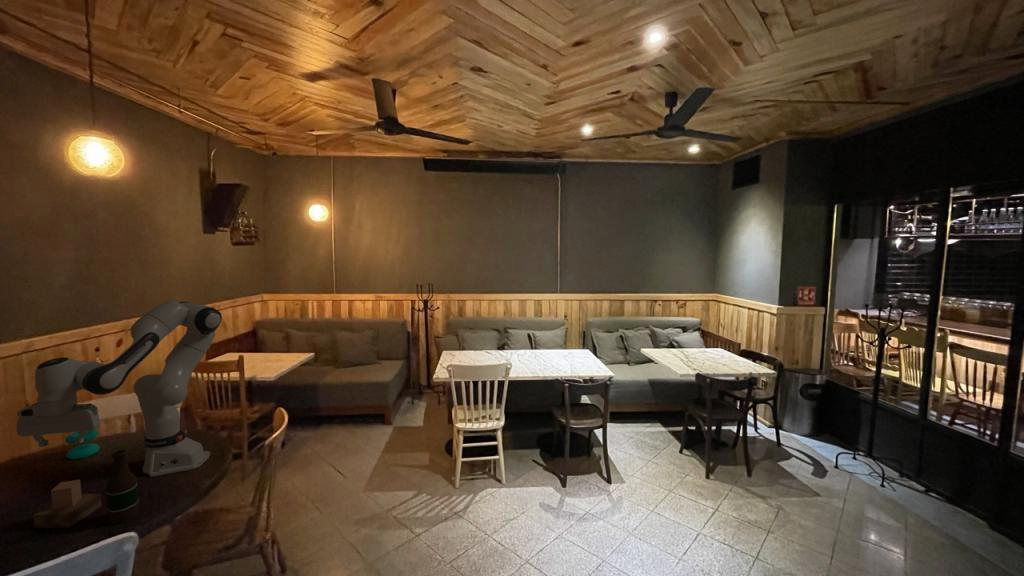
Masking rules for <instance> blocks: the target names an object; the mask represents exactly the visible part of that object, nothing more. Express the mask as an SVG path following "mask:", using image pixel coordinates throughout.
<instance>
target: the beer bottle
mask: <svg viewBox="0 0 1024 576" xmlns="http://www.w3.org/2000/svg"><path fill="white" fill-rule="evenodd" d="M127 454H128V451H127V450H126V449H119V450H117V451H114V452H113V453H112V456H111V457H112V458H113V462H112V463H113V464H112V465H113V466H112V468H113V470H112V476H111V478H110V479H109V481H107V484H106V488H105V490H106V491H105V495H106V508H107V519H108V522H109V523H111V524H114V525H117V524H123V523H126V522H128V521H130V520H131V519H134V518H136V516H137V515H138V513H139V511H140V500H139V484H138V477H137V476H136V474H135V473H133V472H131V470H130V468H129V461H128V456H127Z"/></svg>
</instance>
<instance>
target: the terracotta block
mask: <svg viewBox="0 0 1024 576" xmlns="http://www.w3.org/2000/svg"><path fill="white" fill-rule="evenodd" d="M82 494H83V493H82V485H81V479H74V480H66V481H60V483H58V484H57V485H56V486H54V487H53V488H52V489H51V490H50V495H51V504H52V506H53V510H56V509H63V508H69V507H73V506H74V505H75V504H76V503H77V502H78V501H79V500H80V499H81V498H82Z"/></svg>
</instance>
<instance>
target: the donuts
mask: <svg viewBox="0 0 1024 576" xmlns="http://www.w3.org/2000/svg"><path fill="white" fill-rule="evenodd" d="M79 435H80V434H78V432H71V433H70V434H68V435H67V436H65V438H64V441H65V442H66V444H67V445H68V444H69V445H77V446H74V447H73V448H70V450H68V451H67V453H66V457H67V458H68V459H69V460H80V459H85V458H87V457H90V456H93V455H95V454H97V453H98V452H99V450H100V449H101V448H100V445H98V444H97V443H88V442H91V441H93V440H94V439H96V438H97V437H98V435H99V431H98V430H97V429H96V428H95V429H93V430H89V431H87V432H86V434H85V435H84V441H83V442H82V443H75V439H76V438H77V437H79ZM79 444H80V445H79Z"/></svg>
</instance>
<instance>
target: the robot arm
mask: <svg viewBox="0 0 1024 576" xmlns="http://www.w3.org/2000/svg"><path fill="white" fill-rule="evenodd" d="M222 317H223V316H222V313H221V312H220V311H219V310H218V309H216V308H214V307H211V306H209V305H205V304H202V303H196V302H190V301H175V300H168V301H165V302H163V303H161V304H159V305H157V306H155V307H154V308H152V309H151V310H149V311H148V312H146V313H145V314H143V315H142V316H141V317H139V318H138V319H137V320H136V321H135V322H133V324H132V325H131V327H130V336H131V338H132V339H133V340H132V343H131V344H130V346H128V347H127V348H126V349H125V350H124V351H123V352H122V353H121V354H120V355H119V356H117V357H116V358H115V359H114V360H112V361H111V362H109V363H106V364H105V363H102V362H98V361H93V360H92V361H89V360H87V361H86V360H85V361H84V360H78V359H72V358H70V357H57V358H53V359H52V358H51V359H48V360H45V361H42V362H41V363H39V365H37V367H36V369H35V373H34V384H35V386H34V387H35V391H36V392H37V399H36V403H34V404H30V405H28V406H26V407H23V408H22V409H20V410H19V411H17V413H16V414H17V417H18V418H17V420H16V434H17V435H18V436H19V437H23V438H24V437H31V436H32V438H33V440H35V442H37V443H38V447H39V448H42V447H43V448H44V447H47V446H49V444H50V443H49V439H46V438H45V437H44V435H53V434H65V433H74V432H78V434H80V435H79V437H77V438H76V439H75V443H81V444H83V443H82V442H83V441H84V435H85V434H86V432H87V431H89V430H93V429H95V430H96V428H98V427H99V426H100V424H101V419H100V416H99V412H98V411H99V409H98V406H97V405H95V404H92V403H84V404H83V403H82V404H81V403H80V404H78V398H77V397H78V396H77V392H79V391H81V390H82V391H83V390H85V391H87V392H89V393H91V394H93V395H101V396H103V395H108V394H111V393H114V392H115V391H117V390H119V388H120V387H121V386H122V385H123V384H124V382H125V381H126V379H127V378H128V376H129V375H130V374H131V372H132V371H133V370H135V368H136V367H137V366H138V365H140V363H142V362H143V361H144V360H145V358H147V357H148V356H149V355H150V354H151V353H152V352H153V351H154V350H155V349H156V348H157V346H158V345H159V344H160V343H161V342H162V340H163V339H164V338H166V337H167V336H168V335H169V334H170V333H172V332H173V331H174V330H175V329H176V328H177V327H180V326H182V327H185V328H186V331H185V334H184V335H183V336H182V337H181V338H180V340H179V341H178V342H177V343H176V345H175V346H174V347H172V348H173V349H172V350H171V351H170V352H169V354H168V355H167V356H166V358H165V359H164V363H165V364H164V367H163V370H162V372H161V374H158V373H156V374H155V373H153V374H152V373H151V374H145V375H143V376H140V377H139V378H138V379H137V380H136V381H135V383H134V385H133V392H134V393H135V394H136V397H137V400H138V402H139V407H140V409H141V414H142V415H143V416H142V417H143V420H144V421H143V422H144V432H145V434H144V435H145V436H144V439H143V440H144V442H143V443H144V449H145V457H144V463H143V467H142V472H143V473H144V474H147V475H148V476H149V477H151V478H153V477H158V476H163V475H169V474H173V473H174V474H175V473H179V472H185V471H191V470H195V469H198V468H199V467H201V466H202V465H204V464H205V463H206V462H207V461H208V460H207V459H210V457H209V456H211V452H210V451H209V450H204V448H203V444H202V443H201V442H199V441H196V440H194V439H191V438H189V437H187V436H186V434H187V432H188V429H186V430H185V431H183V430H182V428H181V426H180V425H181V424H180V412H179V409H178V408H177V405H179V404H181V403H182V402H183V401H184V400H185V399H187V396H188V394H189V389H188V387H189V386H188V385H189V382H190V379H191V376H192V375H193V372H194V371H195V369H196V367H197V365H198V364H199V362H201V360H202V358H203V357H204V356H205V354H206V353H207V352H208V350H209V348H210V346H211V345H212V343H213V341H214V338H215V337H216V332H215V331H216V330H217V329H218V328H219V326H220V325H221V322H222V319H223V318H222ZM205 461H206V462H205ZM204 462H205V463H204ZM203 463H204V464H203ZM197 467H198V468H197Z"/></svg>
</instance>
